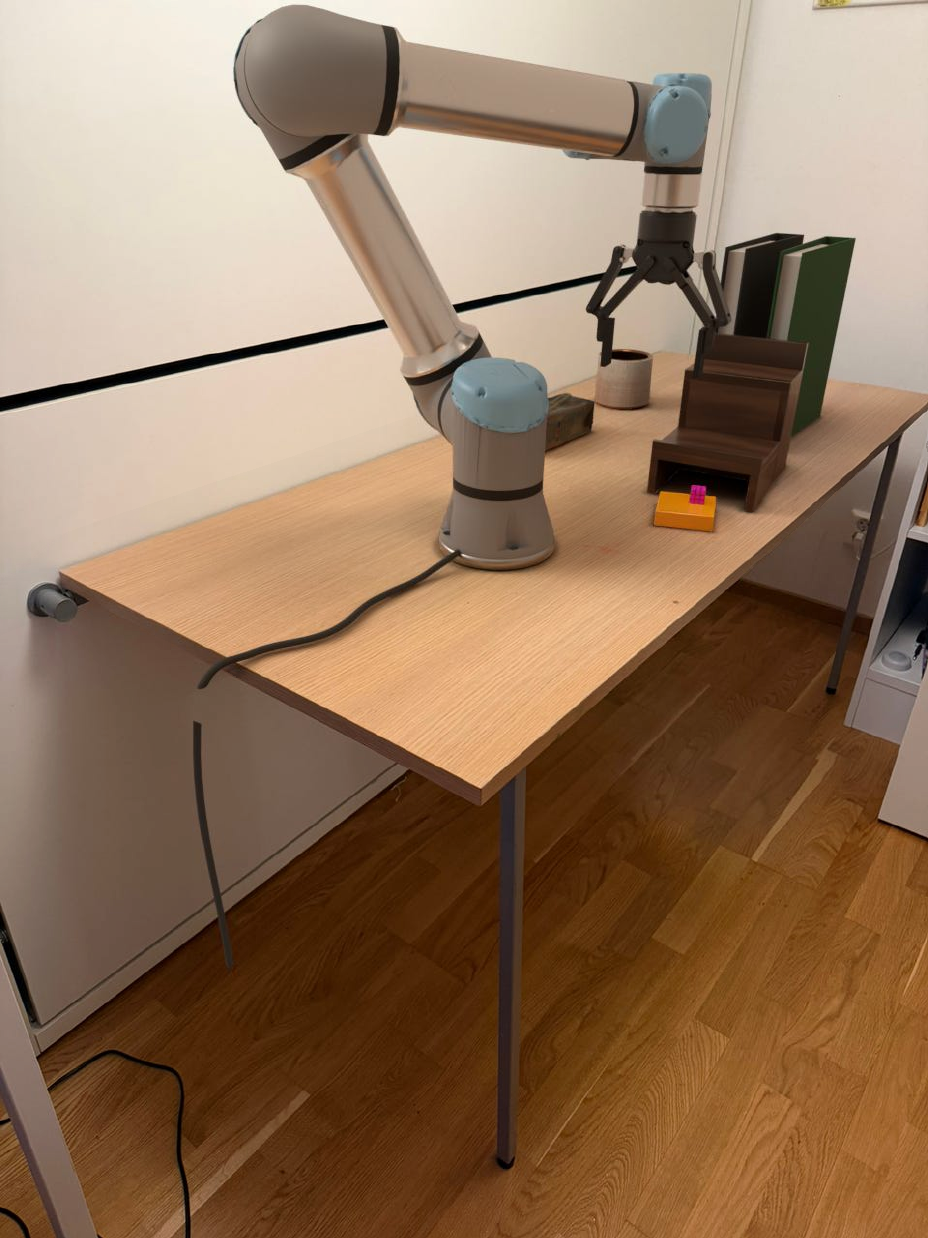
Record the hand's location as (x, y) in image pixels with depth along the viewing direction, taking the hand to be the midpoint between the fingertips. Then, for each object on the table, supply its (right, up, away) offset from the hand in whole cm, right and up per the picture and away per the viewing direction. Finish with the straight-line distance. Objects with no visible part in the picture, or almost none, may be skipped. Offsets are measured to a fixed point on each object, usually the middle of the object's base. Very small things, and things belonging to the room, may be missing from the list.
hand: (650, 370), depth 129 cm
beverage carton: (-12, -4, +30) cm, 33 cm away
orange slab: (+5, -22, -1) cm, 22 cm away
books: (+28, 0, +38) cm, 47 cm away
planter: (+5, +8, +52) cm, 52 cm away
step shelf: (+14, -14, +13) cm, 23 cm away
